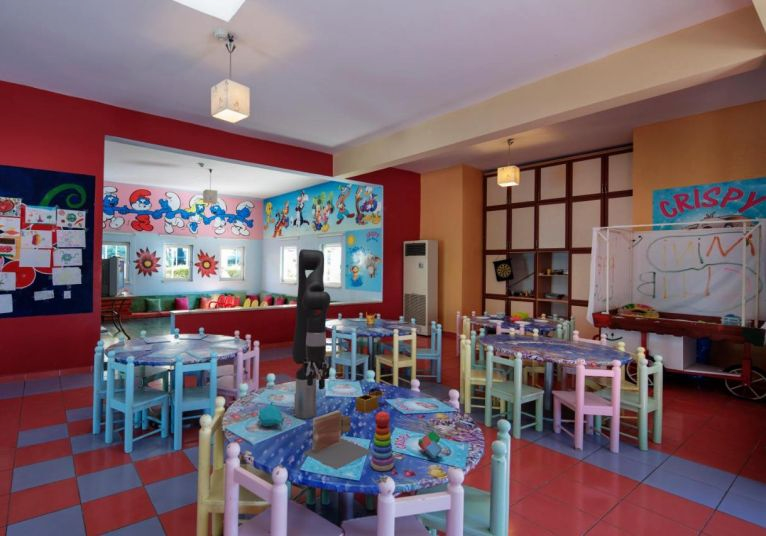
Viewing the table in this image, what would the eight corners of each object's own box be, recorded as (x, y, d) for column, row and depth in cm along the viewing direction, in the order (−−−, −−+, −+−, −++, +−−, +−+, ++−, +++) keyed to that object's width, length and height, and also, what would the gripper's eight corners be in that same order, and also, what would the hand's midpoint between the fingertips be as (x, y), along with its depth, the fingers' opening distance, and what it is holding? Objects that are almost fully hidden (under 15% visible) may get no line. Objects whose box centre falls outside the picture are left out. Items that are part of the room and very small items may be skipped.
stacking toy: (370, 461, 144) (370, 407, 143) (392, 460, 144) (393, 407, 144) (371, 472, 136) (372, 416, 136) (395, 471, 136) (396, 415, 136)
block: (336, 431, 168) (336, 417, 168) (343, 429, 171) (343, 414, 171) (343, 434, 166) (343, 419, 166) (350, 431, 169) (350, 417, 169)
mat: (302, 454, 148) (302, 452, 148) (339, 438, 161) (339, 437, 161) (336, 471, 136) (336, 469, 136) (373, 453, 150) (373, 451, 150)
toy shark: (269, 418, 183) (269, 394, 182) (294, 429, 171) (294, 403, 171) (249, 424, 175) (249, 399, 175) (274, 436, 163) (274, 409, 163)
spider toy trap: (386, 405, 201) (386, 386, 201) (365, 413, 190) (365, 393, 189) (376, 402, 205) (376, 384, 205) (355, 410, 194) (355, 390, 194)
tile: (312, 451, 149) (313, 418, 149) (337, 441, 158) (337, 410, 158) (316, 453, 148) (316, 420, 147) (340, 442, 157) (341, 411, 156)
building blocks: (432, 463, 152) (434, 457, 142) (417, 446, 156) (417, 439, 146) (447, 448, 155) (449, 441, 145) (431, 431, 159) (432, 423, 149)
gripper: (336, 344, 155) (335, 389, 155) (311, 339, 165) (311, 381, 165) (320, 347, 150) (320, 393, 150) (296, 342, 159) (296, 385, 159)
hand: (315, 387), depth 157 cm, fingers open, 6 cm apart
